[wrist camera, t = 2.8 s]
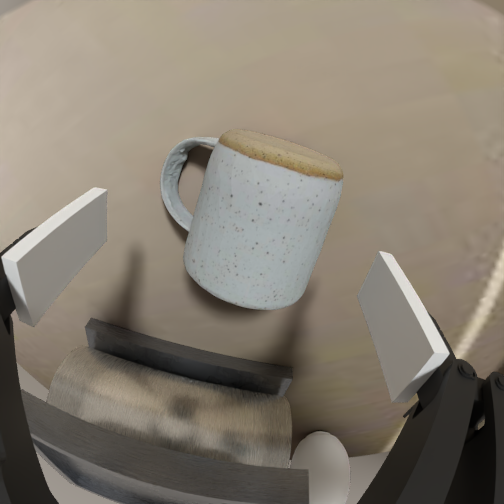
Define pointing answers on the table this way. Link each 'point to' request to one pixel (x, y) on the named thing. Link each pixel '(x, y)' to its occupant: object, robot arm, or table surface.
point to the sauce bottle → (324, 467)
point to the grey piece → (167, 423)
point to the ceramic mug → (254, 216)
